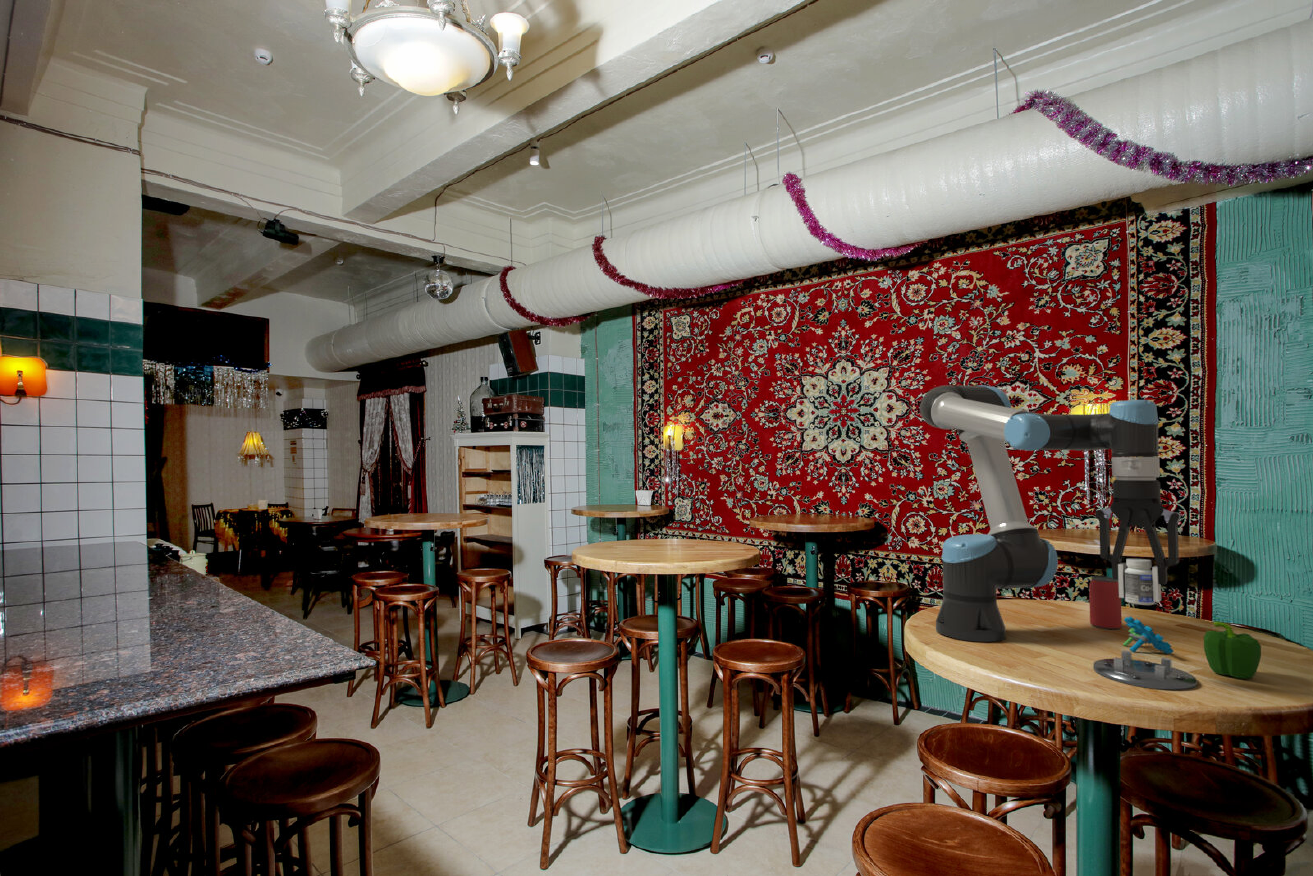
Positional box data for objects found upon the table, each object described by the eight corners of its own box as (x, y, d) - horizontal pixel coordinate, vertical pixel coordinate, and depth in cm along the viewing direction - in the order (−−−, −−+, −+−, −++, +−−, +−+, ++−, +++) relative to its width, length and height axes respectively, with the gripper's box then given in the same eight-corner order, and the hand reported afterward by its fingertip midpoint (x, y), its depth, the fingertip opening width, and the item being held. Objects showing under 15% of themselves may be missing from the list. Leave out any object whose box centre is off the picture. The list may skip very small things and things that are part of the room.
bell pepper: (1268, 677, 125) (1266, 624, 125) (1254, 685, 121) (1252, 631, 121) (1213, 665, 132) (1212, 616, 132) (1197, 672, 128) (1196, 621, 128)
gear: (1185, 653, 135) (1143, 616, 138) (1164, 672, 135) (1122, 635, 138) (1157, 645, 146) (1118, 611, 148) (1137, 664, 146) (1099, 629, 148)
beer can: (1084, 622, 166) (1083, 575, 166) (1112, 623, 165) (1111, 576, 166) (1098, 629, 160) (1097, 580, 160) (1127, 630, 159) (1126, 581, 159)
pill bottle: (1145, 606, 123) (1143, 561, 124) (1119, 601, 128) (1118, 558, 128) (1160, 604, 125) (1159, 560, 125) (1134, 599, 129) (1133, 557, 130)
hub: (1083, 675, 126) (1083, 658, 126) (1104, 657, 137) (1104, 642, 138) (1189, 697, 115) (1188, 678, 115) (1202, 675, 126) (1201, 659, 126)
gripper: (1077, 478, 131) (1081, 595, 130) (1190, 480, 118) (1195, 609, 117) (1088, 478, 136) (1091, 589, 135) (1197, 479, 123) (1202, 603, 122)
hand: (1139, 598), depth 126 cm, fingers closed on pill bottle, 5 cm apart
